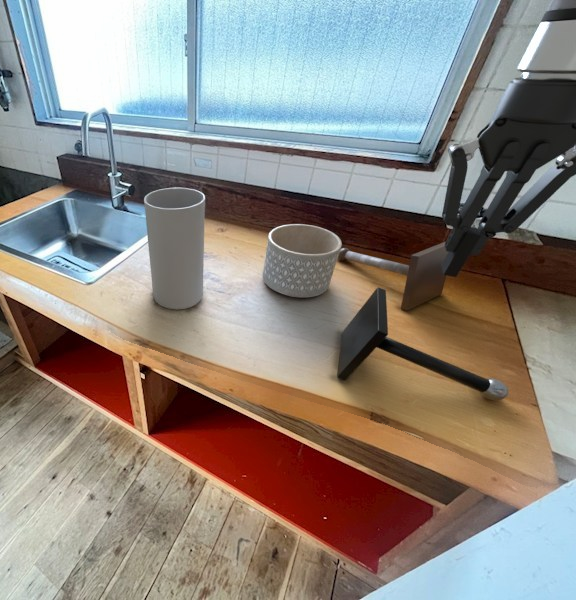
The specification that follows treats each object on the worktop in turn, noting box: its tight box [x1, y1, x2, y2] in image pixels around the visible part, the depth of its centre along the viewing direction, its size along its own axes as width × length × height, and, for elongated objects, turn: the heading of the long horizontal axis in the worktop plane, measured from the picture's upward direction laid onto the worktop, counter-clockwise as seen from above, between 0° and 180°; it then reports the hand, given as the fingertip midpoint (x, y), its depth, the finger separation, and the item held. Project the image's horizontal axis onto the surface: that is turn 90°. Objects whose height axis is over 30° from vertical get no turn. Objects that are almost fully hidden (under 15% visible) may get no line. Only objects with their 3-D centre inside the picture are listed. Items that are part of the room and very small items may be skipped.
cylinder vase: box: [143, 187, 206, 310], centre depth 73 cm, size 12×12×25 cm
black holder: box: [336, 286, 509, 402], centre depth 55 cm, size 25×13×13 cm, turn 64°
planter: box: [262, 223, 343, 298], centre depth 80 cm, size 16×16×13 cm
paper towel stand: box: [337, 241, 448, 312], centre depth 80 cm, size 25×13×13 cm, turn 27°
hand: (448, 271), depth 47 cm, fingers closed
